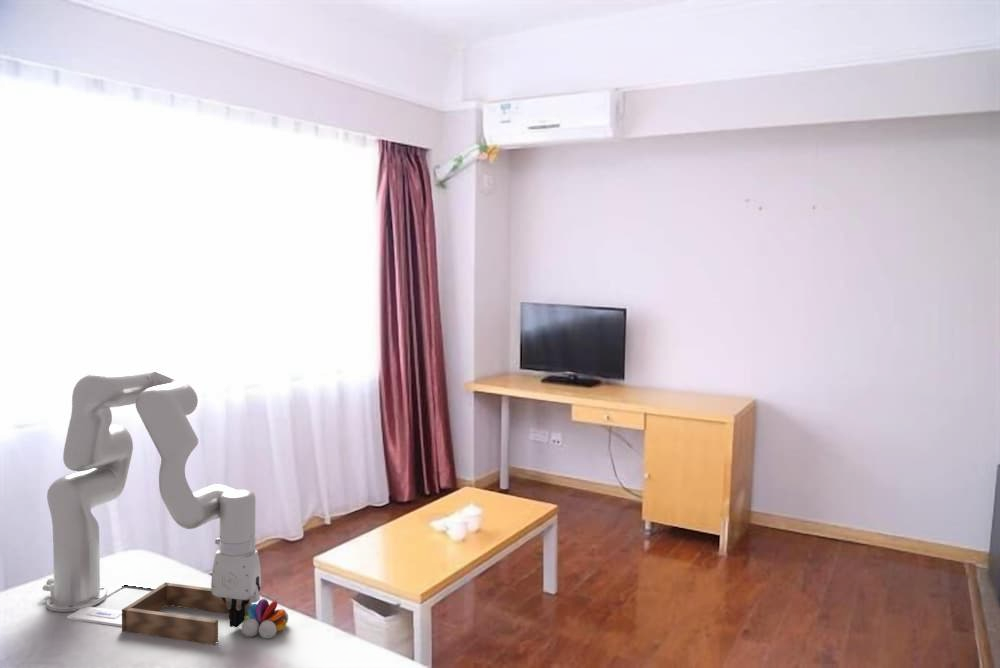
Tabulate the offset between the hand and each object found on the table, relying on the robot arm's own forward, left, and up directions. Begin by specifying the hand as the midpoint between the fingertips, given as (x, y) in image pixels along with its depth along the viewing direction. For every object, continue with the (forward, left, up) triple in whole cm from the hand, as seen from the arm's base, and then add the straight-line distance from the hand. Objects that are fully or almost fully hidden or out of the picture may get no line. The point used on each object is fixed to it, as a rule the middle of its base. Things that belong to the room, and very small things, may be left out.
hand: (236, 624), depth 154 cm
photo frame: (-33, +4, -2) cm, 33 cm away
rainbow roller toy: (+7, +1, -1) cm, 7 cm away
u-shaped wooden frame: (-12, 0, -1) cm, 12 cm away
